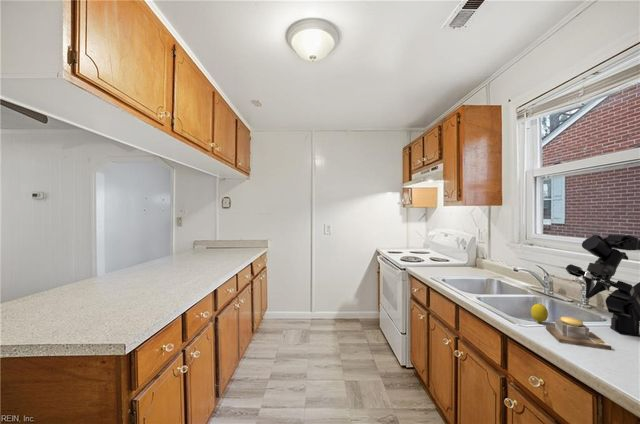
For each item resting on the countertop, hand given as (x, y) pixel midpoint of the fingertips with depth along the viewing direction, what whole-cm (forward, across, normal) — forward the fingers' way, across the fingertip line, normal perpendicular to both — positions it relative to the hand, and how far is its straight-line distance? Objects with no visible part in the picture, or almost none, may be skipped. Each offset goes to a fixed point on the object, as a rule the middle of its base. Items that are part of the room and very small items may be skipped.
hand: (586, 298), depth 107 cm
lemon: (+17, -10, +3) cm, 19 cm away
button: (+15, +2, -4) cm, 15 cm away
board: (+16, +4, -3) cm, 17 cm away
